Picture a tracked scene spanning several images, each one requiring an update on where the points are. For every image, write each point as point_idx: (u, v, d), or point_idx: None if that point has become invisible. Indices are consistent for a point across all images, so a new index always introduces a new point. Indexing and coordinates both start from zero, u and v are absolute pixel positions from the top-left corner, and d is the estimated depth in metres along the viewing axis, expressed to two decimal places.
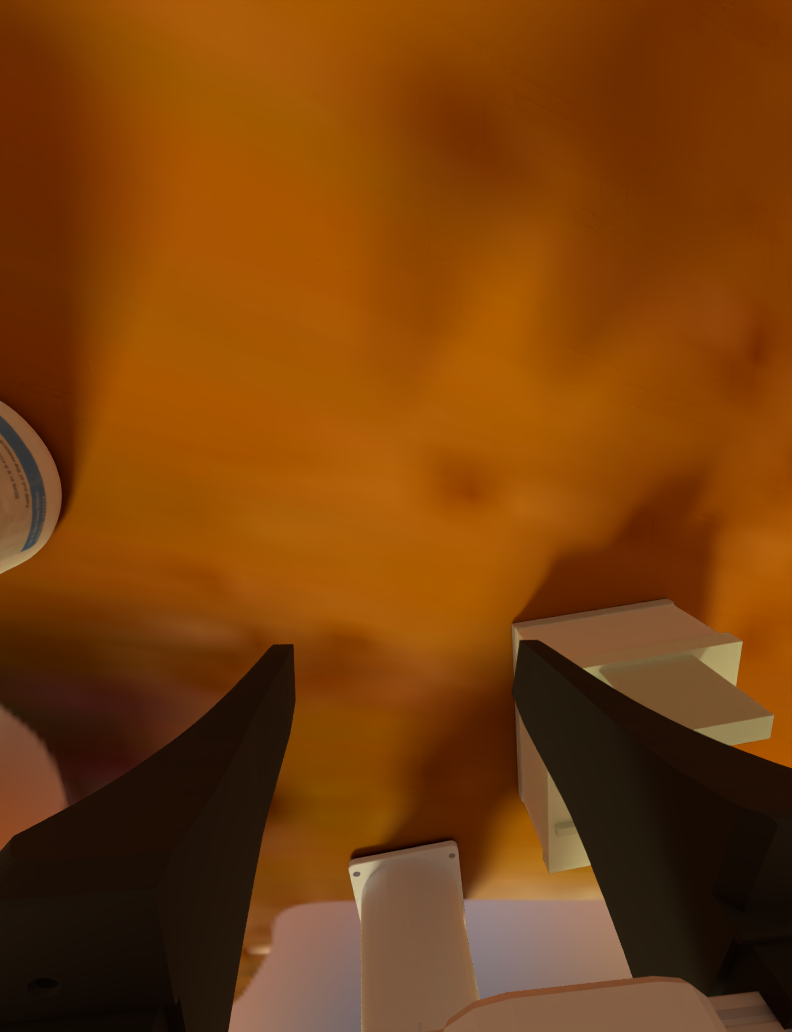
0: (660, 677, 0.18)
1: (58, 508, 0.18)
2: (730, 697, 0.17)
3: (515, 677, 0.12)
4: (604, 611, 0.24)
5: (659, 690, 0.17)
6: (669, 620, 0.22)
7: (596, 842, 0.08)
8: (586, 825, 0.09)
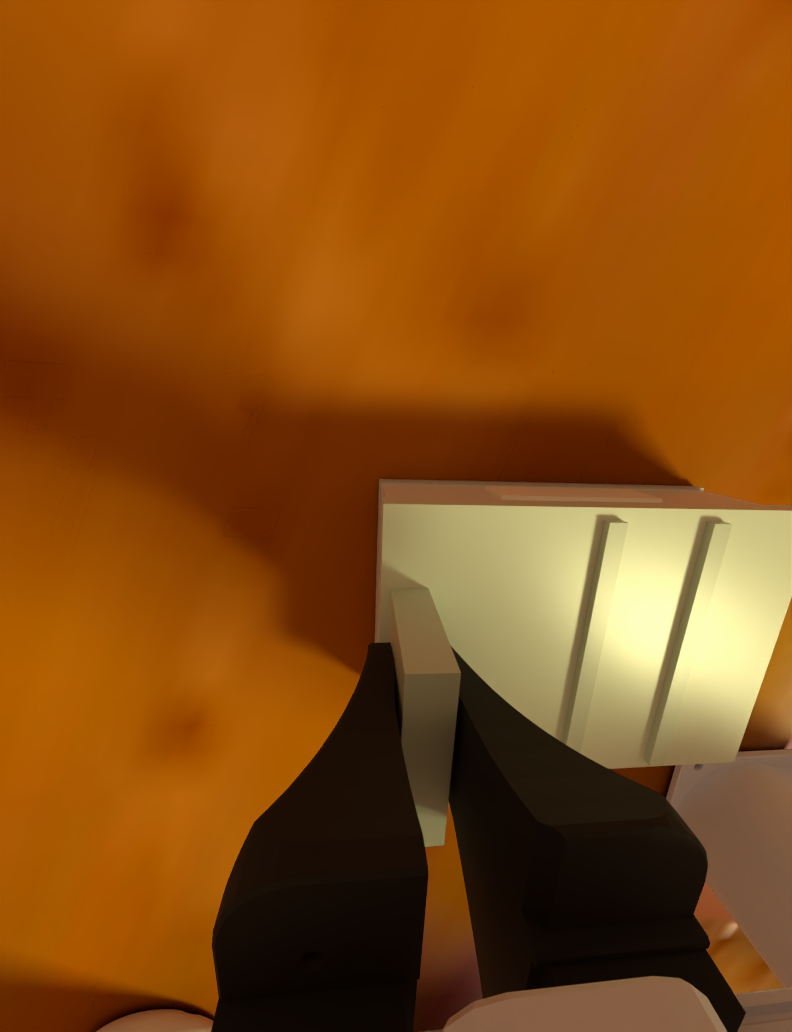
0: None
1: (179, 1023, 0.23)
2: (398, 668, 0.09)
3: None
4: (378, 574, 0.17)
5: None
6: None
7: (466, 852, 0.08)
8: (461, 834, 0.08)
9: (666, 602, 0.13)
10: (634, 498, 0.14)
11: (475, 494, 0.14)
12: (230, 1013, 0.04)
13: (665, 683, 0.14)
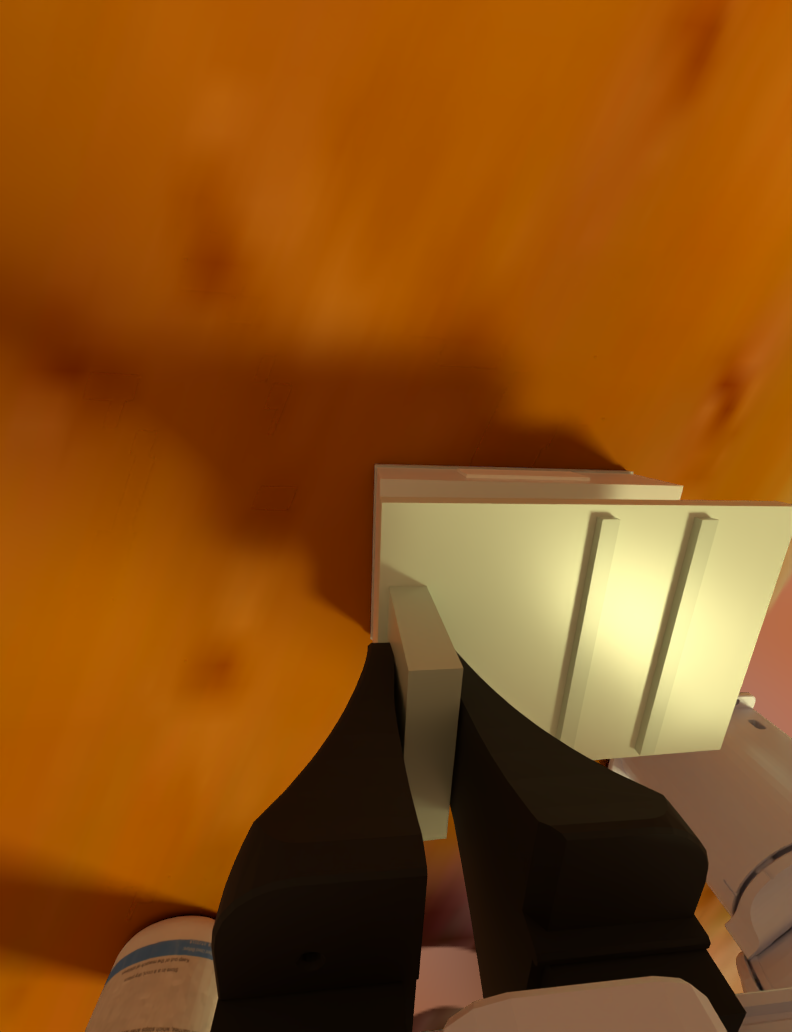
0: None
1: (207, 925, 0.27)
2: (399, 665, 0.09)
3: None
4: (374, 541, 0.21)
5: None
6: (377, 502, 0.18)
7: (466, 852, 0.08)
8: (461, 834, 0.08)
9: (656, 596, 0.13)
10: (568, 477, 0.18)
11: (447, 474, 0.18)
12: (229, 1013, 0.04)
13: (655, 675, 0.14)
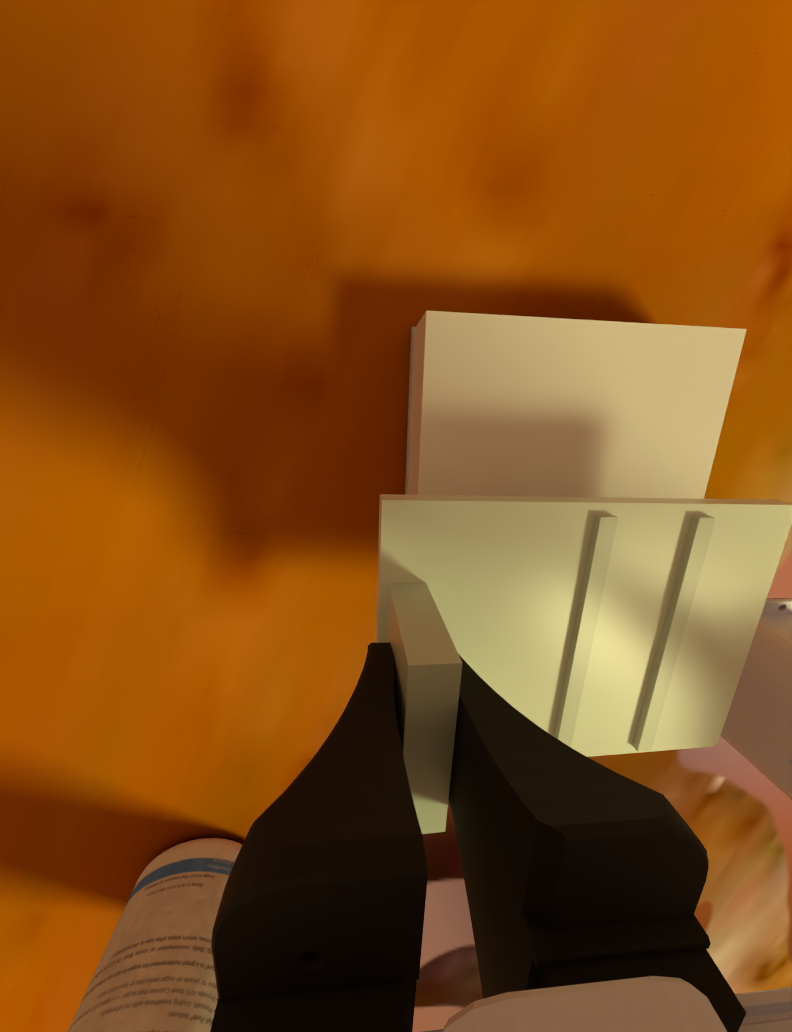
0: None
1: (231, 846, 0.26)
2: (399, 660, 0.09)
3: None
4: (409, 416, 0.20)
5: None
6: (417, 357, 0.17)
7: (466, 852, 0.08)
8: (461, 834, 0.08)
9: (653, 593, 0.13)
10: None
11: None
12: (230, 1013, 0.04)
13: (653, 672, 0.14)
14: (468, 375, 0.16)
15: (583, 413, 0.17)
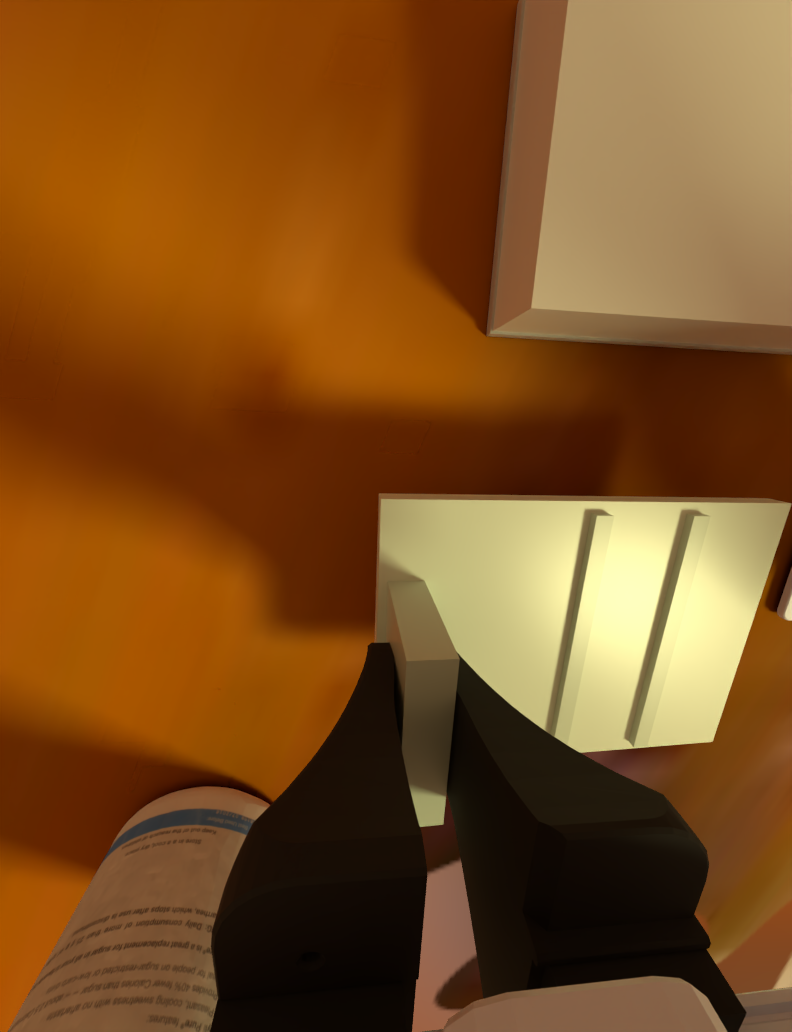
0: None
1: (239, 797, 0.20)
2: (398, 657, 0.10)
3: None
4: (506, 156, 0.14)
5: None
6: (541, 5, 0.11)
7: (466, 852, 0.08)
8: (462, 834, 0.08)
9: (649, 591, 0.14)
10: None
11: None
12: (229, 1013, 0.04)
13: (649, 669, 0.15)
14: None
15: None
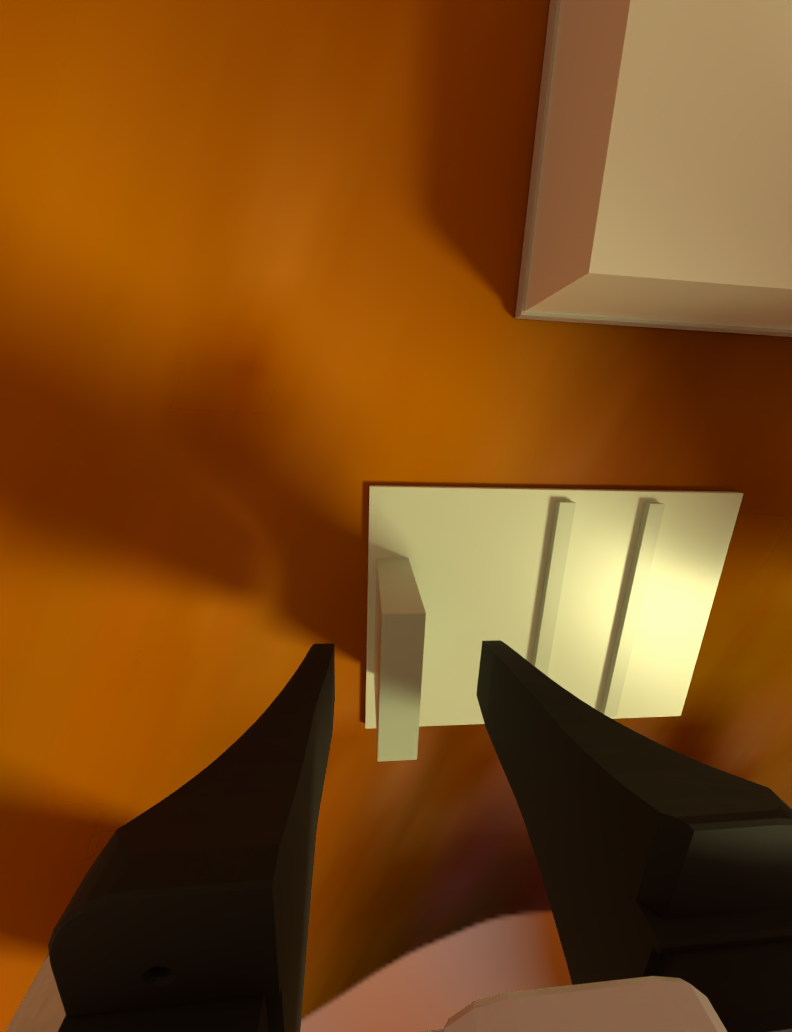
0: None
1: None
2: (379, 616, 0.12)
3: (479, 678, 0.12)
4: (545, 86, 0.11)
5: (376, 664, 0.13)
6: None
7: (544, 846, 0.08)
8: (536, 828, 0.09)
9: (613, 572, 0.15)
10: None
11: None
12: (74, 1030, 0.04)
13: (616, 644, 0.16)
14: None
15: None
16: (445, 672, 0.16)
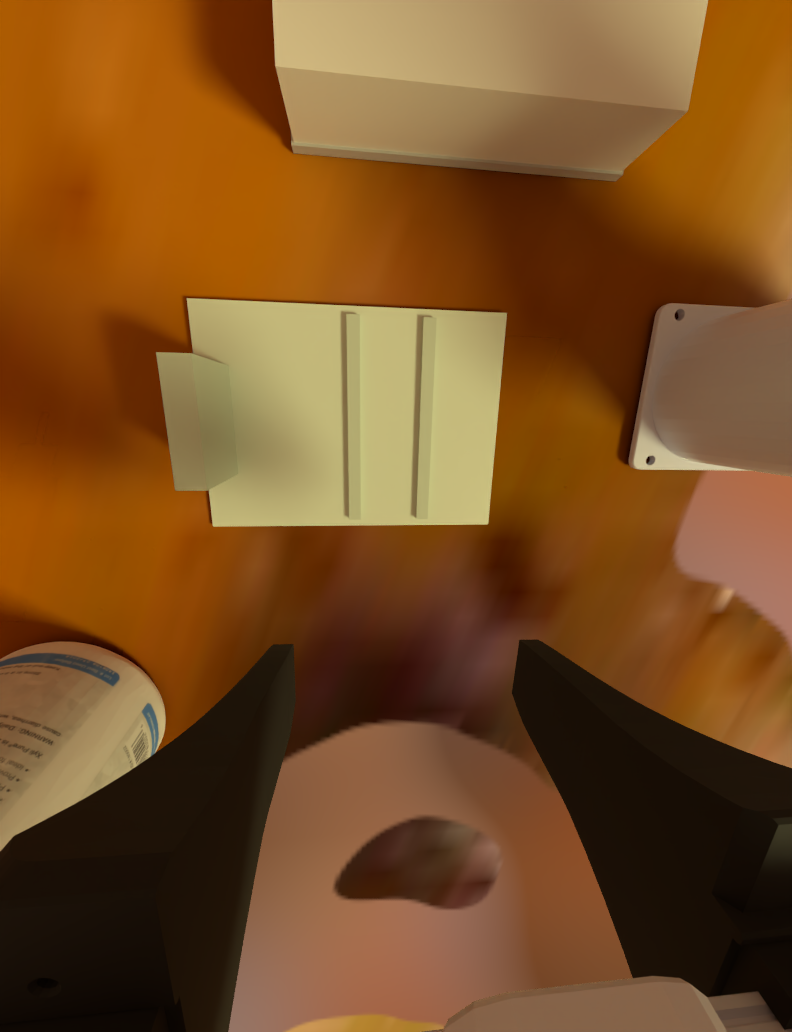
0: None
1: (97, 649, 0.20)
2: None
3: (515, 677, 0.12)
4: None
5: None
6: None
7: (596, 842, 0.08)
8: (586, 825, 0.09)
9: (406, 383, 0.18)
10: None
11: None
12: None
13: (419, 452, 0.19)
14: None
15: None
16: (275, 474, 0.19)
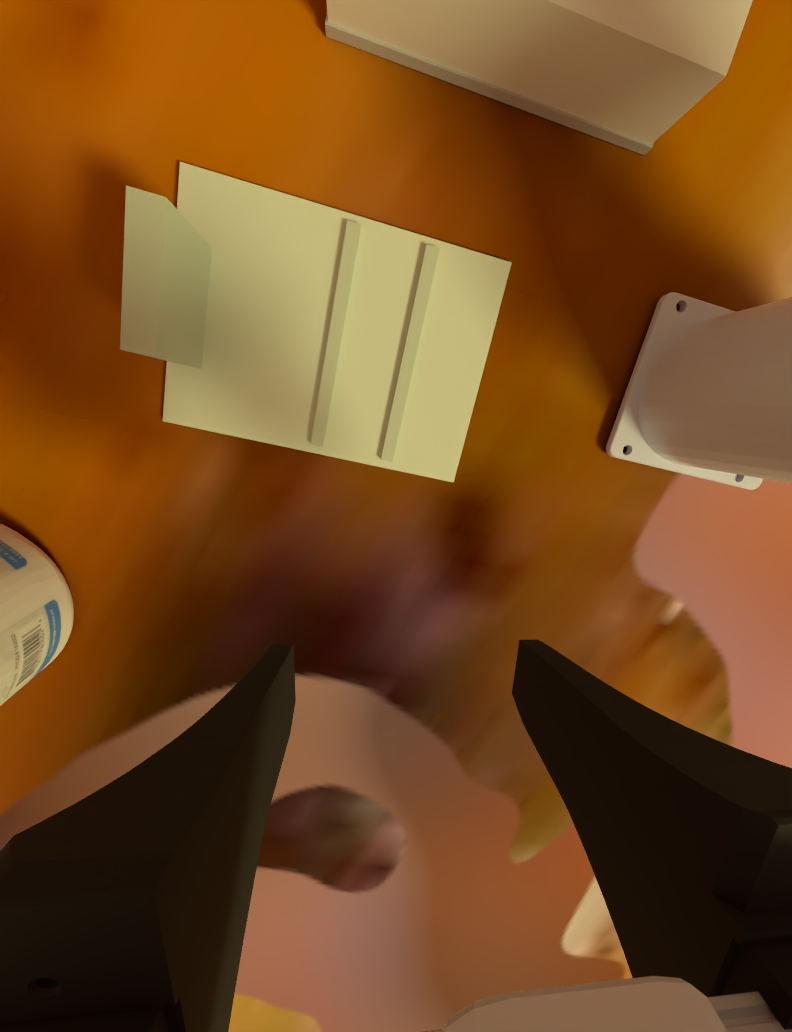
0: None
1: (8, 530, 0.18)
2: None
3: (515, 677, 0.12)
4: None
5: None
6: None
7: (596, 842, 0.08)
8: (586, 825, 0.09)
9: (396, 312, 0.17)
10: None
11: None
12: None
13: (397, 389, 0.18)
14: None
15: None
16: (240, 379, 0.18)
